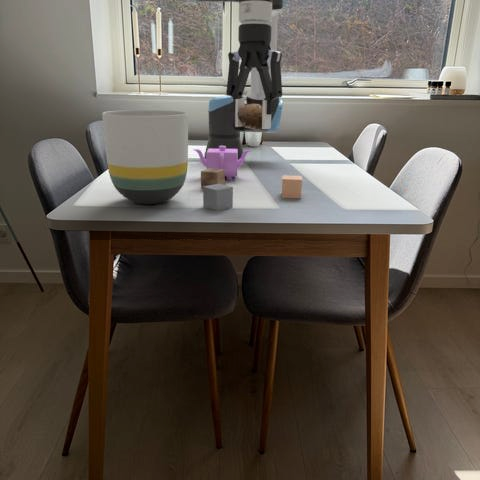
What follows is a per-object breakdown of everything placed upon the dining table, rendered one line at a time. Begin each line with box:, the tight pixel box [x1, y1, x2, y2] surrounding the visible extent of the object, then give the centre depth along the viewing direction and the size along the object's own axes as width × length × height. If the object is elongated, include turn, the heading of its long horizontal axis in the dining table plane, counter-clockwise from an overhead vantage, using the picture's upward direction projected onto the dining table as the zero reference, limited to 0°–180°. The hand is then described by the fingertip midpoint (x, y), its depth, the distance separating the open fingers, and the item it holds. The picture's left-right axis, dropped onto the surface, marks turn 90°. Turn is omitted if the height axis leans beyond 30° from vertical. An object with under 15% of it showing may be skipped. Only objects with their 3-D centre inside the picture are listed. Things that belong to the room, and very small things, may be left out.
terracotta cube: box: [281, 174, 303, 199], centre depth 122 cm, size 5×5×5 cm
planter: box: [101, 109, 189, 205], centre depth 111 cm, size 20×20×21 cm
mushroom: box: [238, 104, 263, 130], centre depth 112 cm, size 8×8×6 cm
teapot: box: [192, 146, 252, 181], centre depth 142 cm, size 18×13×10 cm
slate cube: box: [202, 184, 234, 212], centre depth 110 cm, size 5×5×5 cm
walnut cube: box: [200, 168, 226, 190], centre depth 129 cm, size 5×5×5 cm
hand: (252, 127), depth 112 cm, fingers closed on mushroom, 7 cm apart
